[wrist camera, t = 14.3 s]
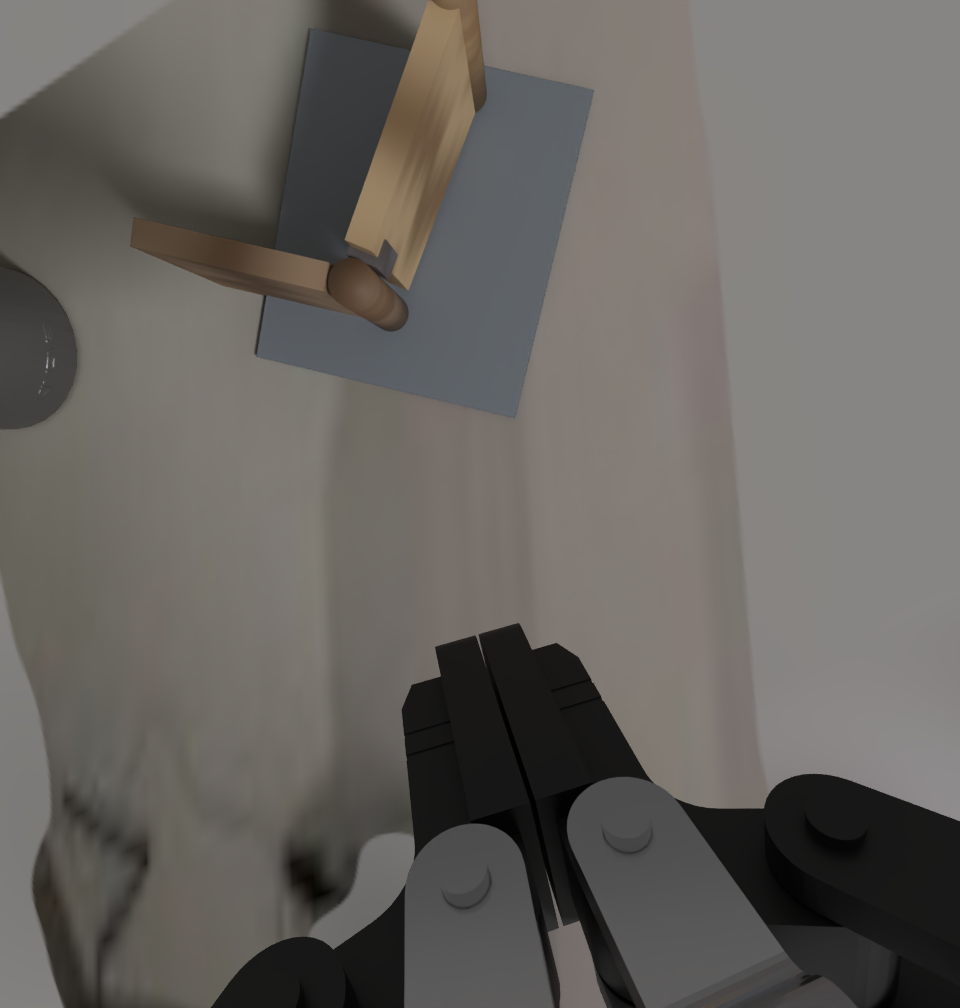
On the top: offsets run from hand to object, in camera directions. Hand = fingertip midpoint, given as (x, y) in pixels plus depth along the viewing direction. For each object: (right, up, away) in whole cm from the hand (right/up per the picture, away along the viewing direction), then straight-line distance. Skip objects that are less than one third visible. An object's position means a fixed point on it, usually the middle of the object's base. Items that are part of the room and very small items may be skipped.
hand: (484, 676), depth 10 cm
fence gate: (-2, +20, +21) cm, 29 cm away
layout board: (-3, +18, +22) cm, 28 cm away
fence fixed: (-9, +15, +23) cm, 29 cm away
